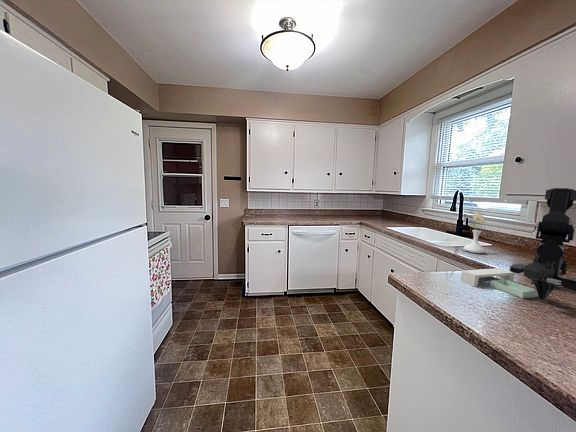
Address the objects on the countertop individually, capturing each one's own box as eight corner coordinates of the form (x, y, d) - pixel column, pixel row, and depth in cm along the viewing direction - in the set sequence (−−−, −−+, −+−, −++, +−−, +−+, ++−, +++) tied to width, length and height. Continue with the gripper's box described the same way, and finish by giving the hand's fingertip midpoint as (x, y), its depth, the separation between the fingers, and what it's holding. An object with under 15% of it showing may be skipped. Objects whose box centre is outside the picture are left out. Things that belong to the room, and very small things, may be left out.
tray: (504, 285, 101) (504, 279, 100) (537, 296, 90) (538, 290, 90) (489, 286, 98) (490, 280, 98) (522, 298, 88) (523, 292, 88)
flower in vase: (489, 255, 149) (494, 214, 146) (467, 253, 152) (472, 213, 149) (479, 250, 161) (484, 212, 159) (459, 248, 165) (463, 211, 162)
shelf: (499, 278, 109) (500, 268, 108) (513, 283, 103) (515, 272, 103) (460, 281, 103) (462, 270, 102) (473, 286, 97) (475, 275, 97)
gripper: (502, 249, 90) (496, 290, 92) (571, 266, 73) (562, 316, 75) (523, 248, 94) (516, 288, 95) (595, 264, 76) (585, 312, 78)
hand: (541, 299), depth 86 cm, fingers closed
